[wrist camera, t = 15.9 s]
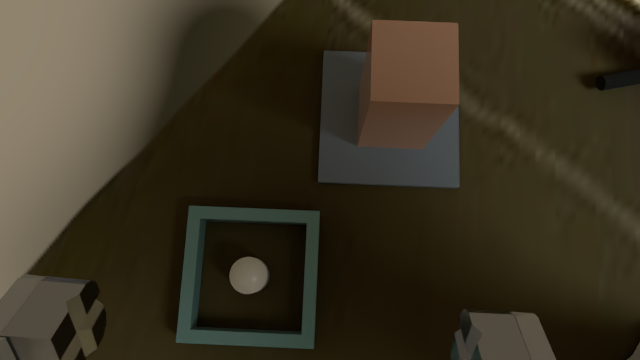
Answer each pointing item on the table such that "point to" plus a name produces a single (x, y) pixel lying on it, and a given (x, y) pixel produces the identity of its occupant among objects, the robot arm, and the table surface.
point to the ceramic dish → (245, 279)
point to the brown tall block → (407, 83)
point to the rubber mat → (374, 162)
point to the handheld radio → (618, 79)
